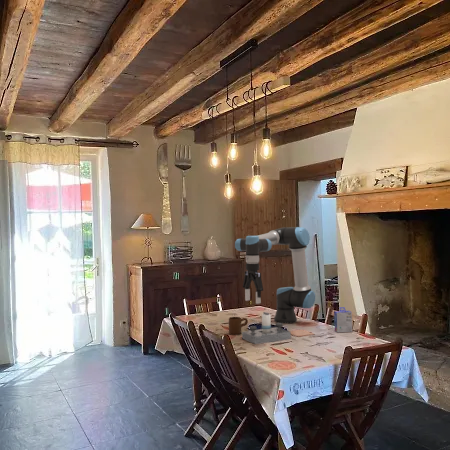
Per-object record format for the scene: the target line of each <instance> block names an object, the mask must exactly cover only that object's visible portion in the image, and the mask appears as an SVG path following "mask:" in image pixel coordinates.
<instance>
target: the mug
mask: <svg viewBox="0 0 450 450" xmlns="http://www.w3.org/2000/svg"><path fill="white" fill-rule="evenodd" d="M244 321H245V322H244ZM242 322H244V323H242ZM248 323H249V320H248V318H247V317H239V316H230V317H229V318H228V334H230V335H234V336H236V335H241V334H242V328H243V327H245V326H247V325H248Z"/></svg>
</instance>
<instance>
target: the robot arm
mask: <svg viewBox="0 0 450 450" xmlns="http://www.w3.org/2000/svg"><path fill="white" fill-rule="evenodd" d="M310 238H311V237H310V233H309V231H308V230H307V229H306V228H305V227H301V226H296V227H295V226H291V227H289V226H288V227H287V226H285V227H284V226H283V227H280V228H276V229H272V230H270V231H269V232H266V233H263V234H259V235H247V236H245V238H237V239H236V240H235V241H234V249H236V251H238V252H245V262H246V264H245V270H246V271H244V277H243V283H242V288H244V295H245V296H244V300H245V301H246V302H248V301H251V289H250V288H251V284H252V281H253V285H254V286H255V304H257V305H258V304H261V303H262V302H261V297H262V296H261V293H262V292H263V291H264V287H263V282H262V281H263V280H262V273H261V272H258V271H259V270H260V253H262V252H263V253H264V252H265V253H266V252H268V251H270V250H271V249H272V247H273V246H275V245H276V246H277V245H281V246H282V245H284V246H288V249H289V250H290V251H291V258H292V260H291V261H292V268H293V276H294V277H293V278H294V286H286V287H279V288H277V289H276V293H275V294H276V312H275V315H274V318H273V320H274V322H275V323H283V324H294V323H297V315H296V312H295V308H299V309H311V308H313V306H314V304H315V301H316V293H315V291H313V290H312V286H310V285H309V280H308V270H307V267H308V266H307V257H306V251H305V250H306V249H307V246H308V245H309V244H310V240H311V239H310Z"/></svg>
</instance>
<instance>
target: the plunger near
mask: <svg viewBox="0 0 450 450" xmlns="http://www.w3.org/2000/svg"><path fill="white" fill-rule="evenodd" d="M248 328H249V330H248V331H251V334H252V335H253V334H255V330H258V329H257V328H258V327H257V326H256V325H255V326H254V325H251V326H249V327H248Z"/></svg>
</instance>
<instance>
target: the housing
mask: <svg viewBox="0 0 450 450" xmlns="http://www.w3.org/2000/svg"><path fill="white" fill-rule="evenodd" d="M290 331H291V330H290ZM290 331H289V330H286V329H283V328H281V331H278V327H276V326H275V327H271V333H266V334H264V333H262V328H260V329H257V330H255V334H253V335H252V334H251V330H245V331H241V334H242V335H241V336H242V337H241V338H242V340H245V341H246V342H249V343H251V344H253V345H258V344H264V343H265V344H266V343H271V342H279V341H284V340H291V337H292V335H291V332H290Z"/></svg>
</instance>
